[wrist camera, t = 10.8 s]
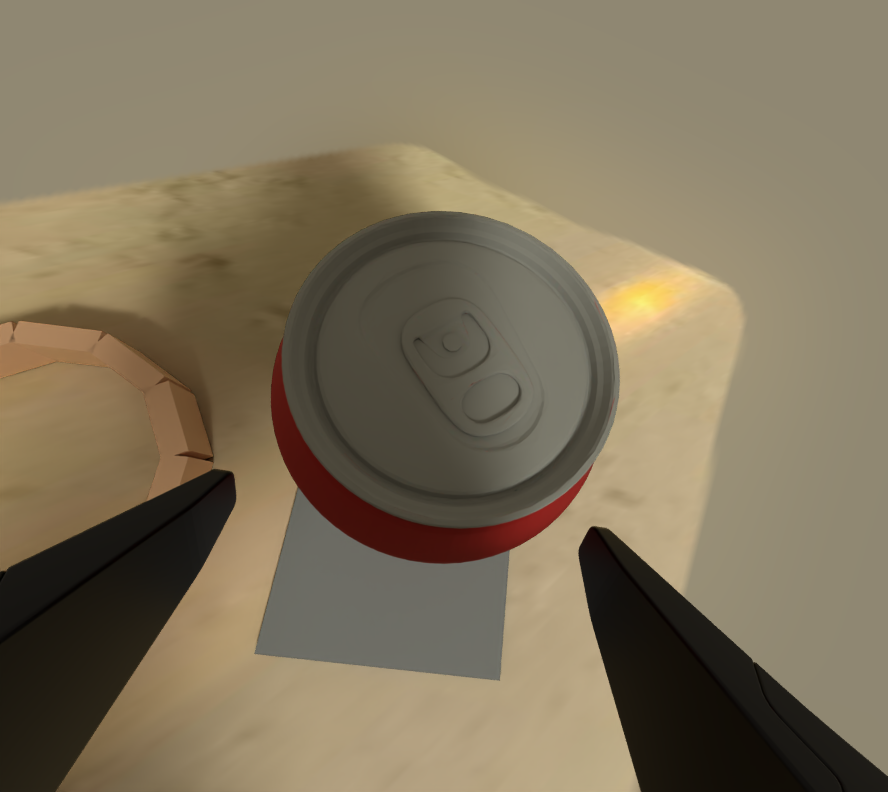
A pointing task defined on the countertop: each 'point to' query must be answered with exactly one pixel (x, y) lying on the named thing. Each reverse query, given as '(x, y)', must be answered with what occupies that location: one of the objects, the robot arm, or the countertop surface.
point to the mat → (382, 605)
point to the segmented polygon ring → (164, 395)
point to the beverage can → (443, 386)
